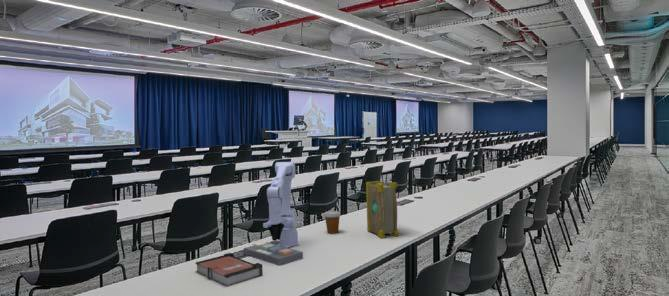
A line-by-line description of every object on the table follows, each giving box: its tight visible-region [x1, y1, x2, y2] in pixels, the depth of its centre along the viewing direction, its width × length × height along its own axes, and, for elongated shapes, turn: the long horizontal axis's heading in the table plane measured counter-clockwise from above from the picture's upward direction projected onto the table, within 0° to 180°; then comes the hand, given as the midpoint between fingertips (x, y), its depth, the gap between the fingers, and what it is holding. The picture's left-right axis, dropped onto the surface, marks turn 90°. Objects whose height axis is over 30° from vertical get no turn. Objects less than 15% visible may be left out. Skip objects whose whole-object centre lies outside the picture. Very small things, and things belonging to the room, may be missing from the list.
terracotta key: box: [278, 248, 293, 256], centre depth 193 cm, size 5×5×2 cm
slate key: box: [269, 246, 284, 253], centre depth 198 cm, size 5×5×2 cm
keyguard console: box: [243, 242, 304, 267], centre depth 200 cm, size 14×28×3 cm, turn 46°
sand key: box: [253, 241, 267, 249], centre depth 207 cm, size 5×5×2 cm
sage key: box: [261, 243, 276, 251], centre depth 202 cm, size 5×5×2 cm
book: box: [195, 252, 264, 287], centre depth 177 cm, size 26×18×5 cm
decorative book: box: [365, 180, 400, 239], centre depth 236 cm, size 20×11×30 cm, turn 21°
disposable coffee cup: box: [324, 210, 341, 235], centre depth 243 cm, size 10×10×12 cm
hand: (276, 239), depth 198 cm, fingers closed
